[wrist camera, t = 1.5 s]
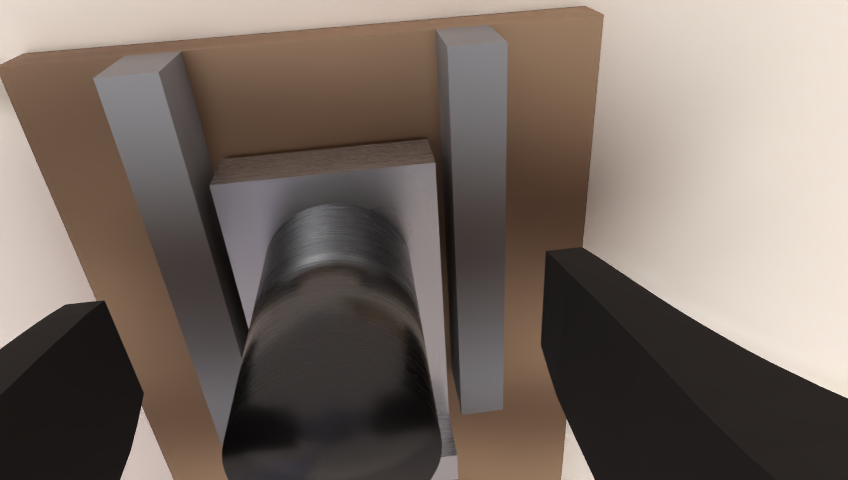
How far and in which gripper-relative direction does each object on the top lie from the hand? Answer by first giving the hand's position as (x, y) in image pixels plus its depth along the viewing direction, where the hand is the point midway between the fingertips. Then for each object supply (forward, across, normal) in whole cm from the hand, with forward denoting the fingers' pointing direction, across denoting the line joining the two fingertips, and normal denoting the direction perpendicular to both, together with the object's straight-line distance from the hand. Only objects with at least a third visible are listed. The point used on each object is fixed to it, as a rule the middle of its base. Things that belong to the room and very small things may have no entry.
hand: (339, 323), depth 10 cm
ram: (+3, 0, +2) cm, 3 cm away
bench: (+4, 0, +6) cm, 7 cm away
